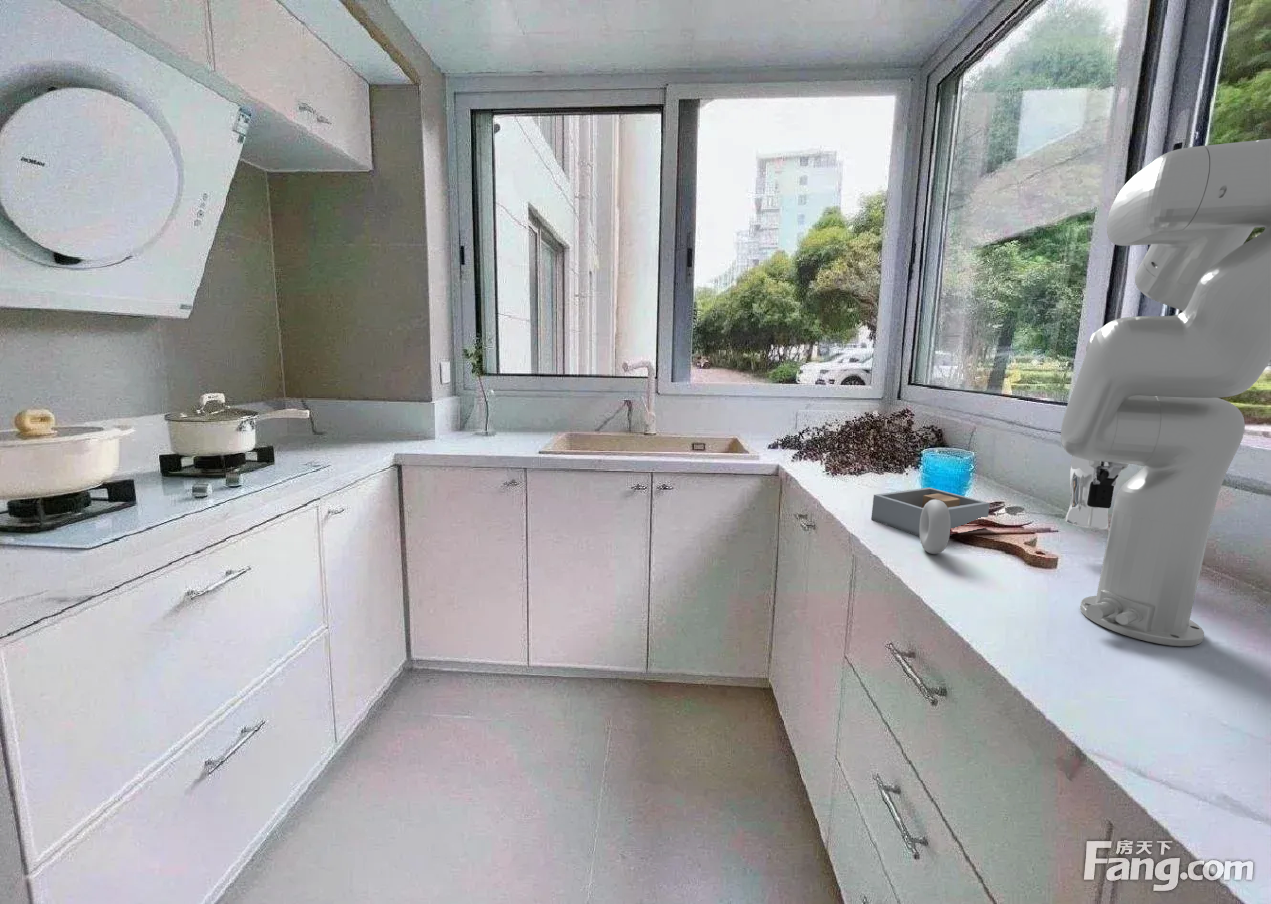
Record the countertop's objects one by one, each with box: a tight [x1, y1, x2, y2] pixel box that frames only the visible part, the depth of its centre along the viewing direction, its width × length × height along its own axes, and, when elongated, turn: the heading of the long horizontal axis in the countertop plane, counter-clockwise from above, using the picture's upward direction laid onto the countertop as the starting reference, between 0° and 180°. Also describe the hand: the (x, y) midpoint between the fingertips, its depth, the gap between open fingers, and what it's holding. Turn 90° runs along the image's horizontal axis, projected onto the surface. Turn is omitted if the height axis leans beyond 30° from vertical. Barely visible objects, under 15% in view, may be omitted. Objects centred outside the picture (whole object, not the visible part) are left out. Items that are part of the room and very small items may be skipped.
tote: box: [870, 486, 991, 537], centre depth 118 cm, size 18×14×6 cm
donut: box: [919, 499, 951, 555], centre depth 101 cm, size 10×4×10 cm, turn 165°
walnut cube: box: [922, 493, 960, 508], centre depth 120 cm, size 5×5×5 cm
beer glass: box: [1064, 455, 1122, 530], centre depth 98 cm, size 7×7×15 cm
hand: (1089, 501), depth 99 cm, fingers closed on beer glass, 6 cm apart
